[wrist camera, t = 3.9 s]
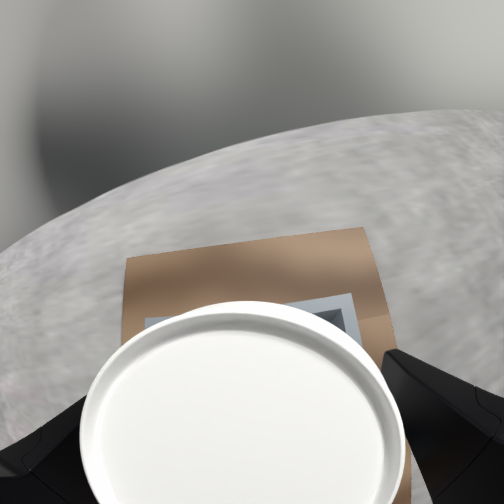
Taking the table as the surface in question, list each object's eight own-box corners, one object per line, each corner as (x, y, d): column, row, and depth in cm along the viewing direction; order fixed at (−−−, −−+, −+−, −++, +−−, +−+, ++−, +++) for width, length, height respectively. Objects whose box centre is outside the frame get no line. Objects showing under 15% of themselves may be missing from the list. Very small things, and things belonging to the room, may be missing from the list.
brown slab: (405, 511, 8) (410, 514, 8) (154, 536, 9) (149, 541, 8) (360, 233, 18) (363, 226, 17) (131, 263, 18) (126, 258, 17)
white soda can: (338, 422, 12) (484, 479, 2) (240, 473, 11) (171, 612, 1) (283, 335, 15) (305, 200, 4) (188, 384, 14) (18, 354, 3)
